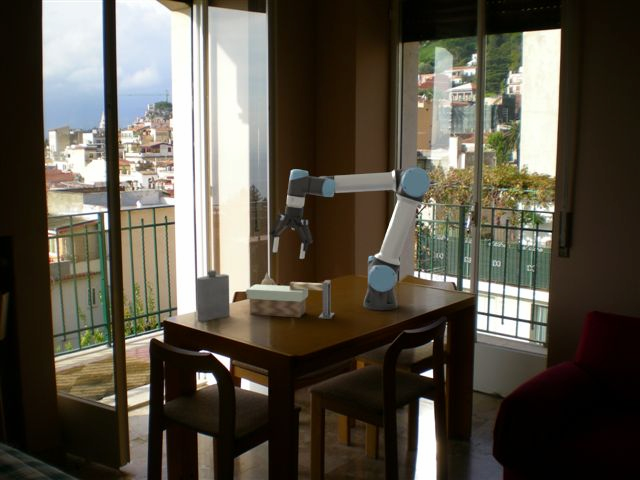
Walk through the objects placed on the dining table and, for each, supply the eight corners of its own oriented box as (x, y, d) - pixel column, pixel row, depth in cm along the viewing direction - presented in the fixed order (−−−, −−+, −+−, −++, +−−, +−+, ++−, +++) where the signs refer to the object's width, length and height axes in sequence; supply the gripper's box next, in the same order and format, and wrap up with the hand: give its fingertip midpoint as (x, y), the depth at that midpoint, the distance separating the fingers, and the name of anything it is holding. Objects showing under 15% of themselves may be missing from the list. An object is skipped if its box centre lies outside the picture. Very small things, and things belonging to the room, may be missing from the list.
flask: (223, 313, 295) (223, 267, 292) (231, 316, 291) (231, 269, 288) (194, 319, 285) (192, 272, 282) (201, 322, 281) (200, 274, 278)
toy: (275, 306, 308) (275, 273, 305) (243, 305, 311) (243, 272, 308) (279, 303, 314) (279, 271, 311) (247, 302, 317) (247, 270, 314)
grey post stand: (334, 314, 294) (334, 279, 292) (330, 318, 286) (330, 283, 284) (323, 313, 295) (323, 279, 293) (318, 318, 287) (318, 282, 285)
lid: (308, 296, 297) (308, 287, 297) (301, 301, 287) (301, 292, 286) (255, 293, 303) (255, 284, 302) (246, 298, 292) (246, 289, 292)
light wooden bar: (326, 289, 291) (326, 283, 291) (324, 290, 288) (324, 284, 287) (291, 287, 294) (291, 281, 294) (289, 289, 291) (289, 283, 291)
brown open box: (305, 312, 298) (305, 296, 297) (299, 317, 289) (299, 301, 288) (256, 309, 303) (256, 293, 302) (250, 314, 294) (249, 298, 293)
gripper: (265, 201, 293) (259, 250, 296) (316, 211, 282) (309, 261, 285) (274, 201, 300) (268, 248, 303) (324, 210, 289) (317, 260, 292)
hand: (288, 255), depth 294 cm, fingers open, 13 cm apart
